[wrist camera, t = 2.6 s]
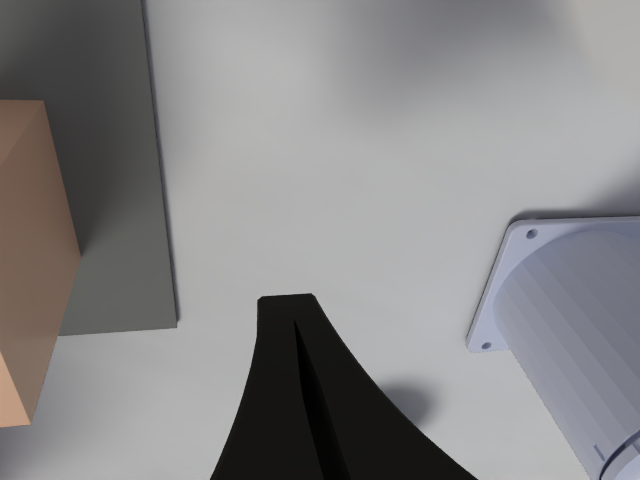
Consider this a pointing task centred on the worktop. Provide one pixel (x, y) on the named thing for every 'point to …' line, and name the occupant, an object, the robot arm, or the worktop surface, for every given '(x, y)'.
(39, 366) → the tile
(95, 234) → the mat
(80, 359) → the worktop surface
